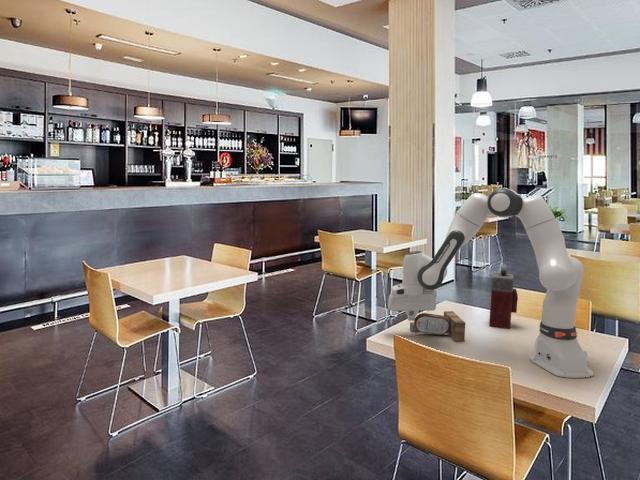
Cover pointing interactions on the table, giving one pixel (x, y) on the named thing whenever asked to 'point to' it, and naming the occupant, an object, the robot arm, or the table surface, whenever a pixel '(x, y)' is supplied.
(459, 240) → the robot arm
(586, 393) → the table surface
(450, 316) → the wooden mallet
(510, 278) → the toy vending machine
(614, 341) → the table surface
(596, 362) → the table surface
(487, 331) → the table surface
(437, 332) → the tin
